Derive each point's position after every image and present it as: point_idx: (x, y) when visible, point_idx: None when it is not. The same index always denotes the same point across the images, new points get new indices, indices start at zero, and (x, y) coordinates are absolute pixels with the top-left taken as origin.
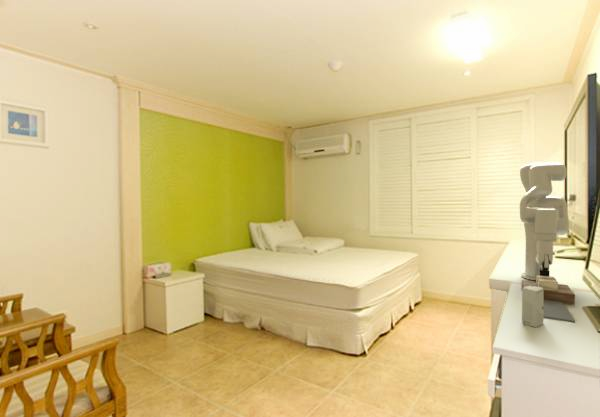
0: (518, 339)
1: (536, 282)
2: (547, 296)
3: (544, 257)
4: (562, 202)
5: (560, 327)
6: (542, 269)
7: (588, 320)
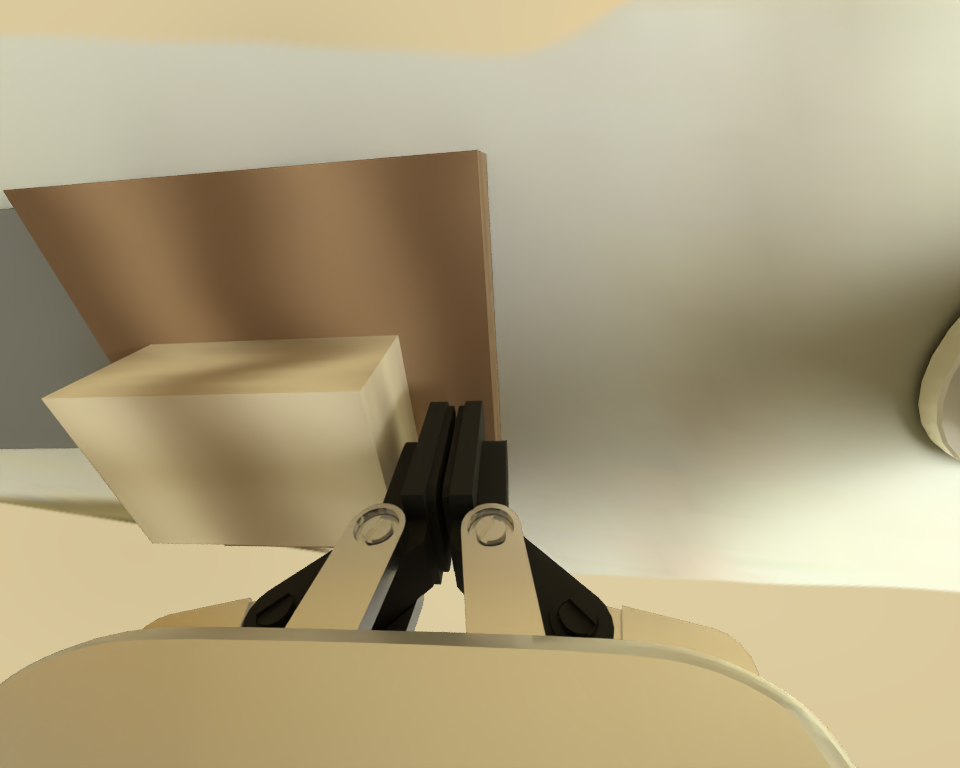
0: None
1: (368, 344)
2: None
3: None
4: None
5: None
6: (353, 539)
7: (36, 494)
